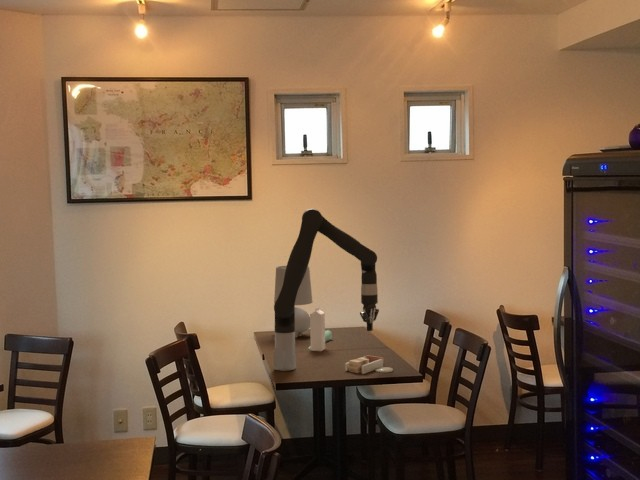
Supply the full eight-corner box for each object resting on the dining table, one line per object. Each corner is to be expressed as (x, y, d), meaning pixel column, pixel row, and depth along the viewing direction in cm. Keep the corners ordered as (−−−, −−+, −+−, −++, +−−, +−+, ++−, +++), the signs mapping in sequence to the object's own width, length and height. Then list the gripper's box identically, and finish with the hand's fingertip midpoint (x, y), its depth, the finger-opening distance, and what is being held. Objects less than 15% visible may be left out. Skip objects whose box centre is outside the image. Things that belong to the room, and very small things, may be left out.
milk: (310, 350, 359) (309, 308, 358) (314, 348, 365) (313, 306, 363) (322, 351, 357) (320, 308, 356) (325, 348, 363) (324, 306, 361)
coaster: (387, 373, 310) (387, 372, 310) (371, 371, 314) (371, 369, 314) (396, 370, 316) (396, 368, 316) (381, 367, 321) (381, 366, 321)
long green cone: (303, 339, 363) (323, 329, 387) (303, 349, 363) (323, 339, 388) (313, 340, 361) (332, 330, 385) (313, 350, 361) (332, 340, 386)
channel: (363, 373, 310) (363, 364, 310) (345, 370, 316) (344, 362, 316) (384, 366, 324) (384, 357, 323) (366, 363, 330) (365, 354, 329)
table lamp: (265, 337, 396) (263, 266, 393) (288, 330, 414) (287, 263, 411) (298, 341, 383) (296, 268, 380) (320, 334, 400) (319, 264, 398)
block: (357, 373, 312) (357, 362, 311) (349, 371, 315) (349, 360, 315) (369, 370, 318) (369, 359, 317) (360, 368, 321) (360, 357, 321)
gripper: (368, 295, 314) (368, 334, 315) (383, 292, 324) (384, 329, 325) (354, 294, 318) (354, 332, 319) (370, 291, 329) (370, 327, 330)
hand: (369, 330), depth 322 cm, fingers closed
